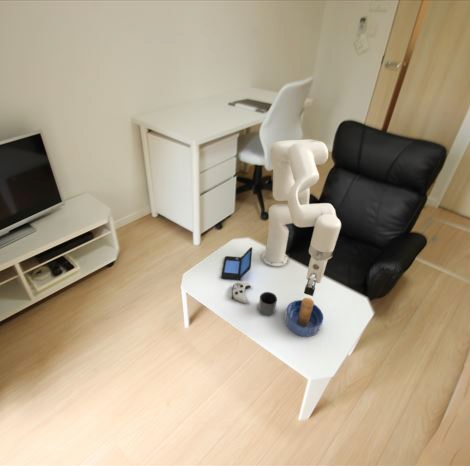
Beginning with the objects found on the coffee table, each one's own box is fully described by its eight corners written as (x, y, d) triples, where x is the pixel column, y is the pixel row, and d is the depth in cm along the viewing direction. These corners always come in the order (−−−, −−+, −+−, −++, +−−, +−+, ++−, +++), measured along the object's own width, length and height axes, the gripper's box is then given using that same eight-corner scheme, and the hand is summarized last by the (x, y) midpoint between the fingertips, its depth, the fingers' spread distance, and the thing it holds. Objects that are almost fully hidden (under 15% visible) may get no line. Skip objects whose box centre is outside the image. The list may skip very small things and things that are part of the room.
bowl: (289, 304, 135) (291, 295, 132) (323, 316, 130) (326, 307, 126) (280, 329, 125) (282, 320, 122) (316, 343, 120) (319, 334, 117)
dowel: (298, 316, 129) (303, 296, 122) (309, 320, 128) (315, 300, 121) (295, 324, 126) (300, 304, 119) (306, 328, 125) (312, 308, 117)
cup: (261, 301, 137) (263, 289, 133) (277, 306, 134) (279, 295, 130) (256, 312, 132) (257, 301, 128) (272, 318, 129) (274, 307, 125)
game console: (224, 257, 160) (225, 243, 155) (251, 260, 158) (252, 246, 153) (220, 279, 148) (220, 264, 142) (249, 282, 146) (250, 267, 140)
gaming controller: (249, 303, 134) (238, 294, 132) (238, 309, 138) (228, 299, 136) (252, 285, 143) (241, 275, 141) (241, 290, 146) (231, 281, 144)
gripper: (328, 269, 97) (316, 305, 108) (337, 238, 109) (326, 273, 120) (303, 261, 100) (295, 297, 111) (315, 232, 112) (306, 267, 123)
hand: (311, 285), depth 115 cm, fingers open, 9 cm apart
